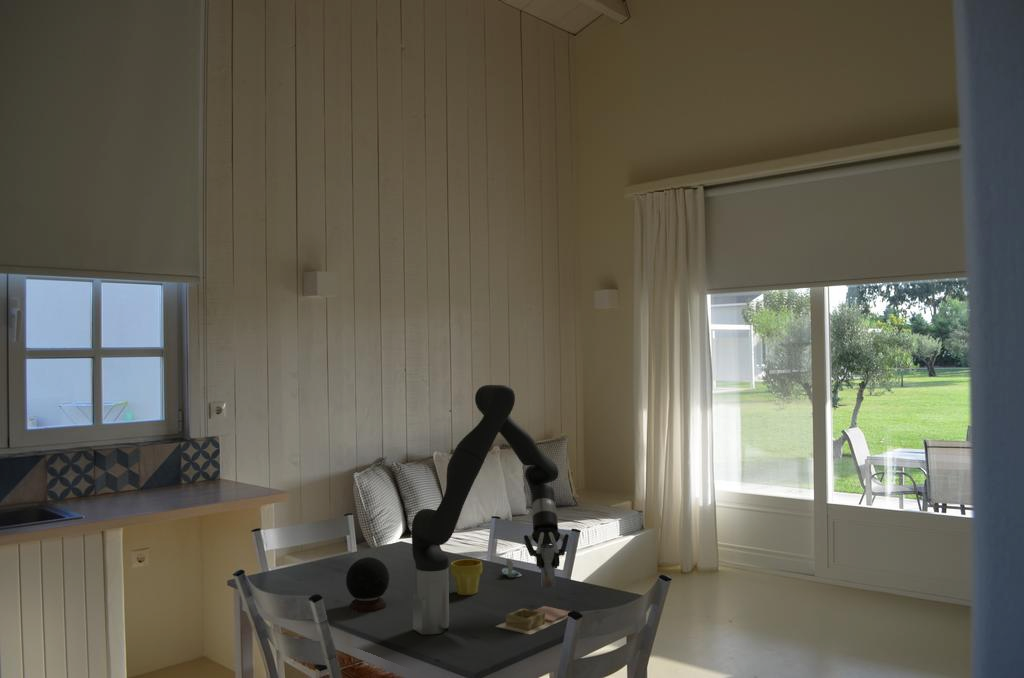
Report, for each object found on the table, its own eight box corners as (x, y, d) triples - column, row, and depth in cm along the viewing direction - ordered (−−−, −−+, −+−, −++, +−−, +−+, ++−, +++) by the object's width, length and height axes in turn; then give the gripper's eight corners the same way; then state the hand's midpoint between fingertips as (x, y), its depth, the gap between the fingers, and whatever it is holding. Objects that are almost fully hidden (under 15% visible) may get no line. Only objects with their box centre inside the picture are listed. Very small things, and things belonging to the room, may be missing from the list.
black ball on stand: (347, 615, 240) (347, 564, 241) (344, 602, 253) (344, 554, 253) (391, 611, 244) (391, 561, 244) (386, 599, 256) (386, 551, 257)
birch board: (530, 639, 217) (529, 623, 217) (495, 630, 224) (495, 615, 224) (576, 617, 235) (576, 603, 235) (543, 610, 242) (543, 596, 242)
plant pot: (444, 594, 261) (444, 564, 261) (461, 587, 270) (461, 557, 270) (472, 598, 256) (472, 567, 256) (488, 590, 265) (488, 560, 266)
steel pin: (546, 588, 232) (545, 546, 232) (538, 584, 235) (537, 543, 235) (557, 585, 234) (556, 544, 234) (549, 582, 237) (549, 541, 238)
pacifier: (514, 573, 289) (499, 575, 285) (514, 555, 289) (500, 557, 286) (525, 577, 282) (510, 579, 279) (525, 559, 283) (511, 561, 280)
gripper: (521, 510, 242) (523, 560, 230) (568, 509, 243) (573, 559, 230) (521, 524, 247) (523, 574, 235) (567, 523, 248) (572, 573, 235)
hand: (548, 566), depth 233 cm, fingers closed on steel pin, 4 cm apart
